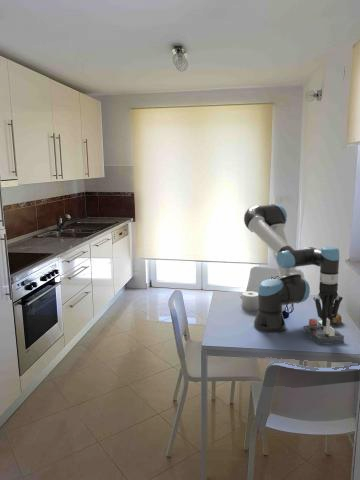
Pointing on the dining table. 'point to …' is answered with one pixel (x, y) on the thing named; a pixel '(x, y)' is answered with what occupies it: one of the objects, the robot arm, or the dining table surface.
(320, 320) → the rocker
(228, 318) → the dining table surface
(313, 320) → the red button
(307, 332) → the panel
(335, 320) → the bread roll
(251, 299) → the toilet tissue
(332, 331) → the slider knob
